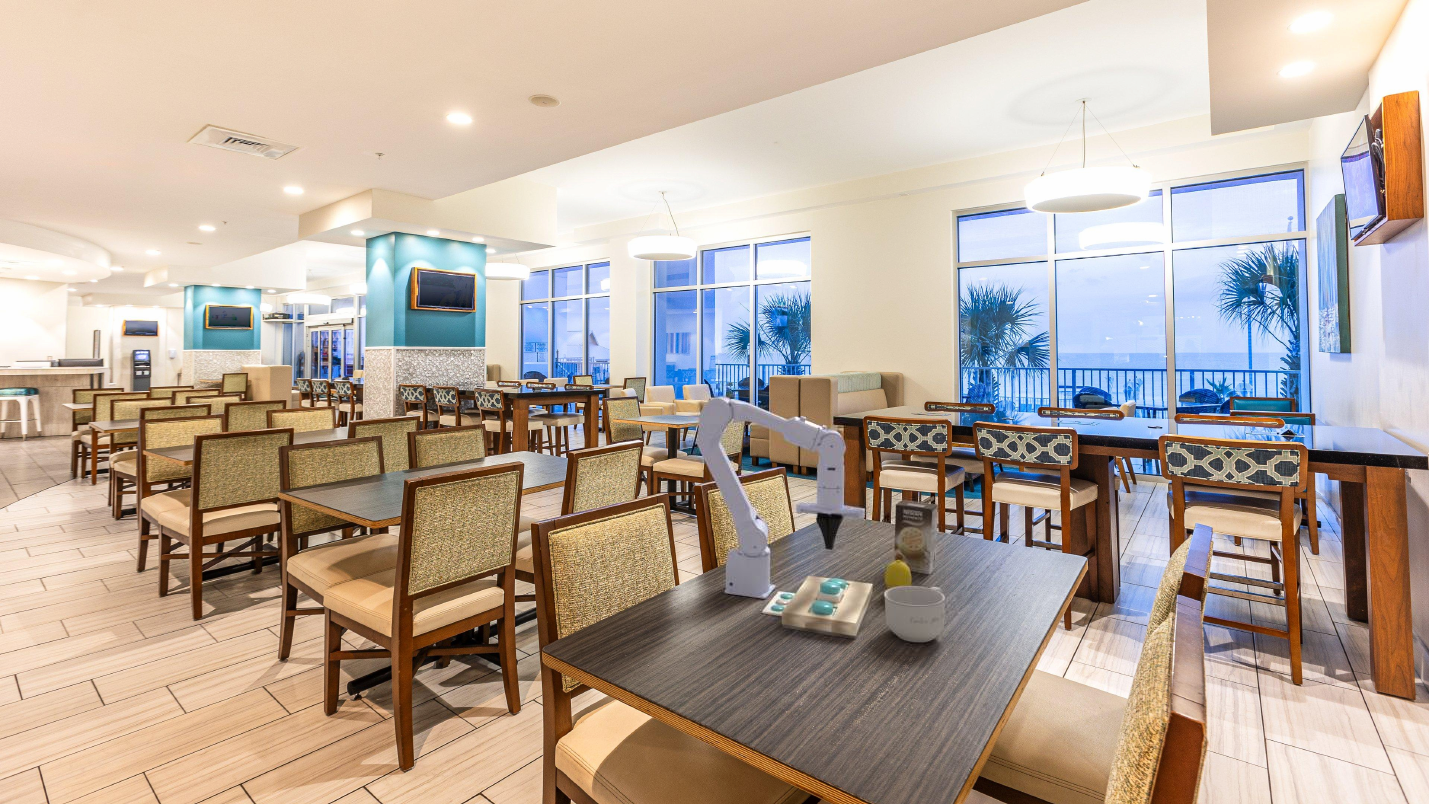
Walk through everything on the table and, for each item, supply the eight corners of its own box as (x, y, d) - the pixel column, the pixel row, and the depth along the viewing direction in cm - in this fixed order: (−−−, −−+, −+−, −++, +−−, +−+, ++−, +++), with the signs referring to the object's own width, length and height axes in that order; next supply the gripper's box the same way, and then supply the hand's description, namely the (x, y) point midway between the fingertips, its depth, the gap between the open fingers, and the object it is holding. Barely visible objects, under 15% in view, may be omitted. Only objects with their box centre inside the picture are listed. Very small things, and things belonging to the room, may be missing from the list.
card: (762, 613, 127) (762, 610, 127) (778, 593, 139) (778, 590, 138) (786, 616, 126) (786, 614, 126) (800, 596, 137) (801, 593, 137)
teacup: (913, 653, 110) (914, 609, 109) (871, 630, 120) (871, 589, 119) (969, 637, 116) (970, 595, 116) (924, 616, 126) (925, 577, 125)
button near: (808, 623, 121) (808, 607, 120) (813, 615, 125) (814, 599, 124) (831, 627, 119) (831, 610, 119) (836, 618, 123) (836, 602, 123)
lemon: (912, 601, 134) (913, 564, 133) (885, 599, 135) (886, 563, 134) (909, 592, 139) (910, 556, 138) (883, 590, 140) (884, 555, 140)
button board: (781, 627, 121) (781, 611, 121) (808, 588, 141) (808, 575, 141) (855, 639, 116) (855, 623, 115) (872, 597, 136) (872, 583, 136)
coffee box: (892, 568, 155) (893, 504, 154) (899, 561, 161) (901, 499, 160) (930, 575, 150) (932, 508, 149) (937, 567, 156) (938, 503, 155)
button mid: (816, 602, 127) (817, 587, 127) (821, 595, 131) (821, 580, 131) (838, 605, 125) (838, 590, 125) (842, 598, 129) (842, 583, 129)
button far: (824, 598, 134) (824, 583, 133) (828, 591, 138) (828, 577, 137) (844, 601, 132) (845, 586, 132) (848, 594, 136) (848, 579, 136)
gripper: (792, 487, 135) (792, 549, 136) (861, 492, 129) (860, 557, 130) (801, 481, 141) (800, 540, 142) (866, 486, 136) (865, 547, 137)
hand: (829, 548), depth 137 cm, fingers closed
